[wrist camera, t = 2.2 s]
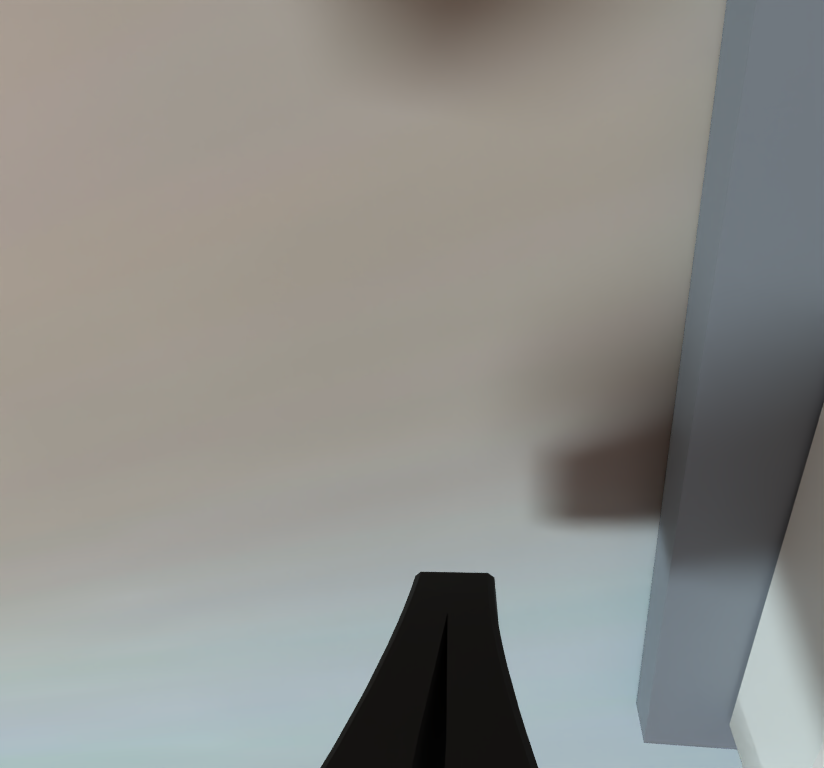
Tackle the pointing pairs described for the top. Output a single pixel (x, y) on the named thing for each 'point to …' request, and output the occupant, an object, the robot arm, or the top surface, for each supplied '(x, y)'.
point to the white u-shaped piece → (790, 642)
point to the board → (741, 372)
